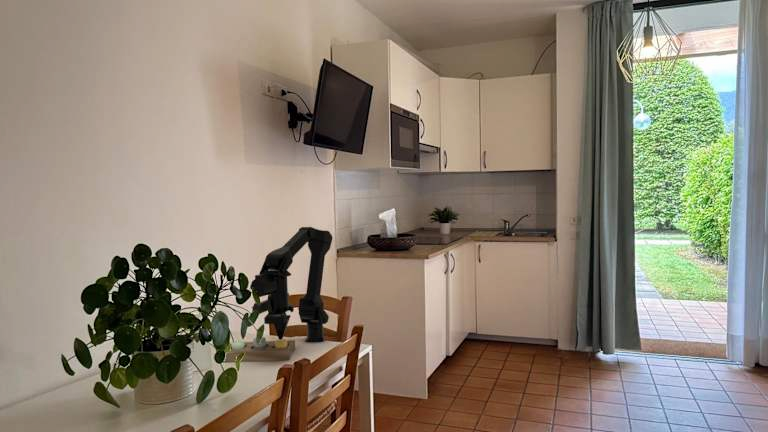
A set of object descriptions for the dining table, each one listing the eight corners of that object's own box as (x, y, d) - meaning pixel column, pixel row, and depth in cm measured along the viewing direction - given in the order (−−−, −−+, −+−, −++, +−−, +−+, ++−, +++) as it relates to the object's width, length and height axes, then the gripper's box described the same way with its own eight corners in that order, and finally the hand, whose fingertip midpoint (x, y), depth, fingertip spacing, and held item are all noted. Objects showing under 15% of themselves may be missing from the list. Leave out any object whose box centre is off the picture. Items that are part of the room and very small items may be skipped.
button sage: (234, 352, 177) (233, 340, 176) (246, 352, 177) (245, 340, 176) (230, 356, 173) (230, 344, 172) (243, 356, 173) (242, 343, 172)
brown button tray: (232, 351, 181) (232, 342, 181) (295, 349, 181) (294, 340, 181) (222, 362, 169) (222, 353, 169) (289, 360, 169) (288, 350, 169)
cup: (215, 363, 168) (213, 312, 168) (204, 371, 160) (201, 318, 159) (190, 363, 169) (188, 312, 168) (178, 371, 161) (175, 319, 160)
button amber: (276, 351, 177) (276, 339, 177) (288, 351, 177) (288, 339, 177) (274, 355, 173) (273, 342, 173) (286, 354, 173) (285, 342, 173)
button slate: (255, 349, 177) (254, 337, 176) (267, 348, 177) (266, 336, 176) (252, 352, 173) (251, 340, 172) (264, 352, 173) (264, 340, 172)
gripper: (260, 287, 183) (262, 332, 184) (246, 298, 164) (248, 348, 165) (293, 286, 183) (294, 331, 184) (283, 296, 164) (285, 347, 165)
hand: (280, 339), depth 174 cm, fingers closed
